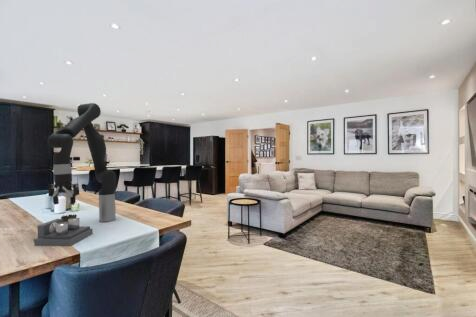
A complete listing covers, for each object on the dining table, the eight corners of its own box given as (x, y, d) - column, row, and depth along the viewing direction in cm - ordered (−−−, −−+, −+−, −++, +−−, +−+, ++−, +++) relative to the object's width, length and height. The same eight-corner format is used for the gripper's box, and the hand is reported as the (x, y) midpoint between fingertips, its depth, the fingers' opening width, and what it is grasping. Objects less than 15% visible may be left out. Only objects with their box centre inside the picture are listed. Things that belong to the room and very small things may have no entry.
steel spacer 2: (66, 230, 123) (66, 220, 123) (71, 227, 128) (71, 217, 128) (76, 229, 124) (76, 219, 124) (81, 226, 128) (81, 217, 128)
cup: (63, 228, 140) (63, 214, 140) (78, 226, 143) (78, 213, 143) (59, 232, 133) (59, 217, 133) (74, 230, 136) (74, 216, 136)
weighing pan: (66, 228, 129) (66, 226, 129) (90, 228, 129) (90, 226, 129) (43, 238, 114) (43, 236, 114) (69, 238, 114) (69, 236, 114)
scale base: (60, 234, 130) (59, 217, 130) (92, 234, 130) (92, 217, 129) (34, 245, 114) (33, 227, 114) (71, 245, 114) (70, 227, 113)
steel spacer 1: (52, 235, 115) (52, 225, 115) (60, 232, 120) (60, 222, 120) (63, 235, 115) (62, 225, 115) (70, 232, 120) (70, 222, 120)
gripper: (43, 174, 119) (45, 206, 120) (71, 173, 119) (73, 205, 120) (54, 172, 126) (56, 202, 127) (81, 171, 126) (83, 201, 127)
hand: (64, 203), depth 123 cm, fingers open, 8 cm apart
